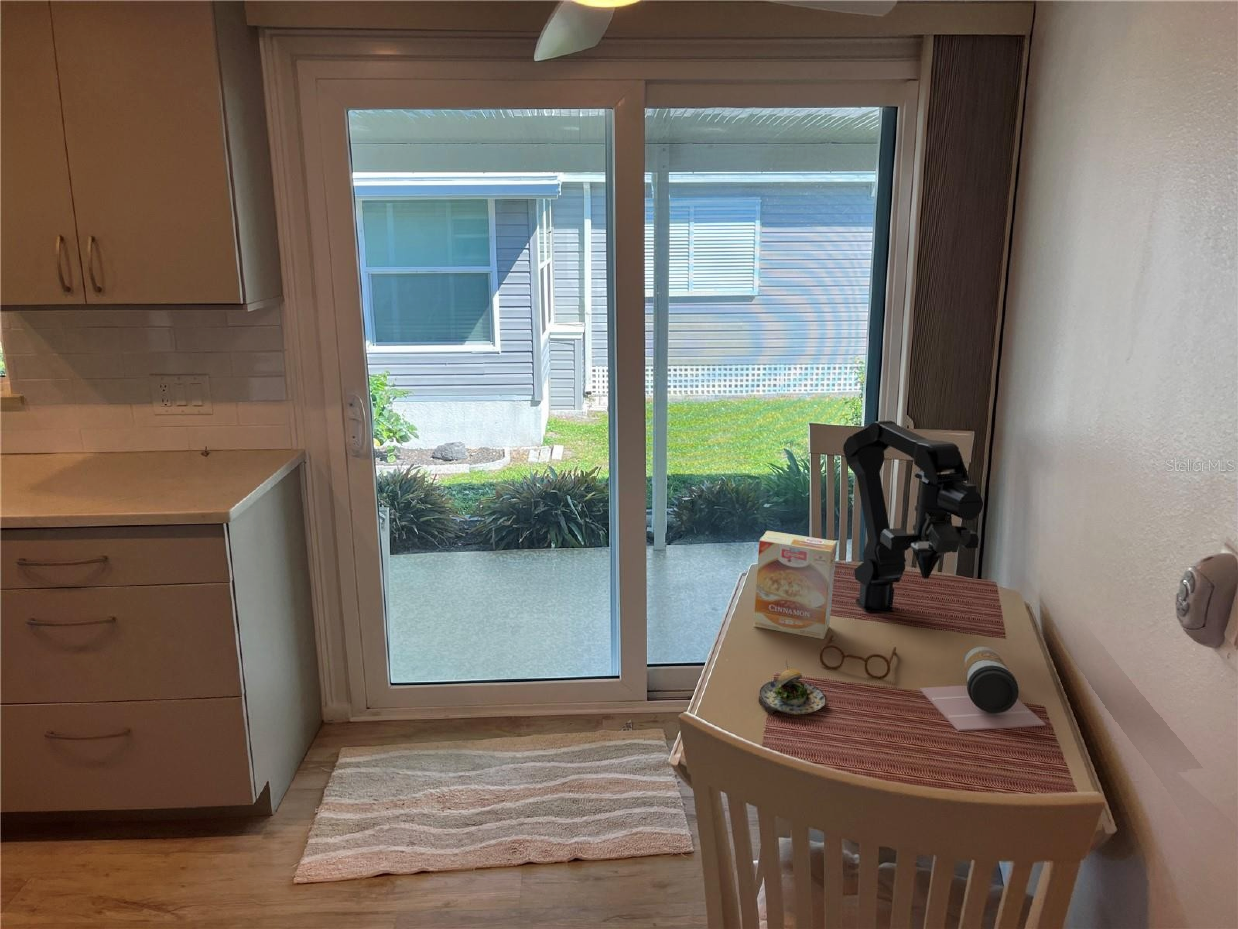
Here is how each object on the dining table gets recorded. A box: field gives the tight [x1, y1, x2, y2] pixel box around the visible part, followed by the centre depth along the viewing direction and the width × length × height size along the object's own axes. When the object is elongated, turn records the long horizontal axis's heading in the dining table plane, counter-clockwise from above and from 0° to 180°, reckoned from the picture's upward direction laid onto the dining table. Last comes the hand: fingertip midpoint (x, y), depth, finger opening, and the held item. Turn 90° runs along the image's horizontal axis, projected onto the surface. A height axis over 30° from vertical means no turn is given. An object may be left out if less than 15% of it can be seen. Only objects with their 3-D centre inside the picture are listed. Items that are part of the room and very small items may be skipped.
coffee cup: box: [964, 646, 1020, 713], centre depth 161 cm, size 8×8×15 cm
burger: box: [758, 659, 828, 715], centre depth 158 cm, size 12×12×8 cm
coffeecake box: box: [753, 530, 838, 640], centre depth 187 cm, size 15×7×20 cm, turn 68°
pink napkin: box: [919, 685, 1046, 732], centre depth 159 cm, size 16×14×1 cm
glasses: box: [819, 634, 897, 680], centre depth 175 cm, size 13×13×5 cm
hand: (925, 577), depth 183 cm, fingers closed
